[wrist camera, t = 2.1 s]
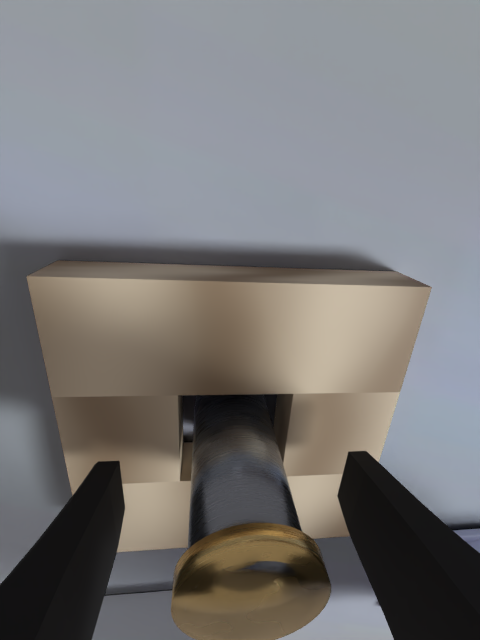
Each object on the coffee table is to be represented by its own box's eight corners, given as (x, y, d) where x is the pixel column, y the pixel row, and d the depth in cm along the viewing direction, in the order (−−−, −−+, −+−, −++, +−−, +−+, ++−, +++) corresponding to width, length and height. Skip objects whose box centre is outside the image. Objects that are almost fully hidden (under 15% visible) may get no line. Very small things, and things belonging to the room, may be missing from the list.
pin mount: (396, 271, 12) (431, 287, 10) (339, 496, 16) (356, 535, 15) (57, 260, 10) (26, 276, 9) (99, 509, 15) (84, 554, 13)
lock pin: (275, 368, 13) (344, 545, 7) (267, 436, 14) (317, 637, 8) (187, 368, 13) (168, 558, 6) (187, 438, 14) (173, 653, 8)
